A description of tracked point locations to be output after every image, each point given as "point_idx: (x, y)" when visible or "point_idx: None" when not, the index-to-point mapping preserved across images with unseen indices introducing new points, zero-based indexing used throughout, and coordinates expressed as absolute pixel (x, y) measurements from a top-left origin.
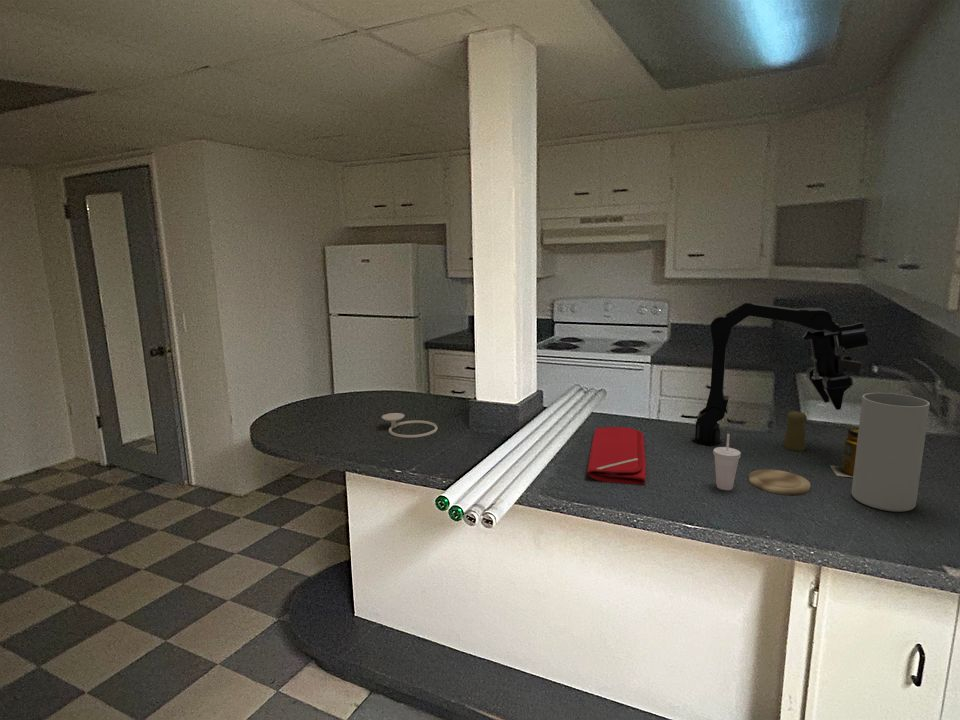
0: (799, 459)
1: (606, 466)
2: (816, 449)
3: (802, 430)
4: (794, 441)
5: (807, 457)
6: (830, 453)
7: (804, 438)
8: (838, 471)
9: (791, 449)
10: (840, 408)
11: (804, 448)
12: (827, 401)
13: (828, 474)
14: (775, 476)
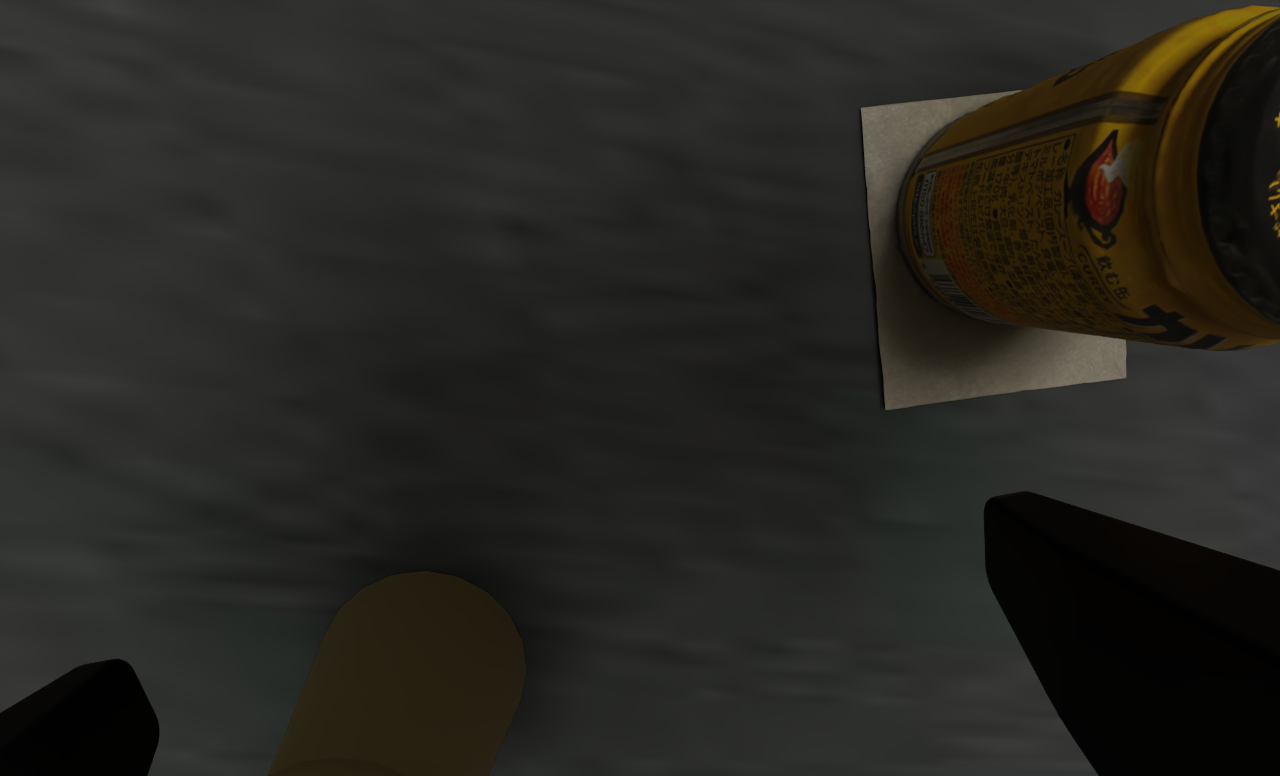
0: (777, 639)
1: None
2: (401, 472)
3: (435, 726)
4: (504, 724)
5: (693, 570)
6: (481, 355)
7: (425, 641)
8: (1004, 352)
9: (519, 696)
10: (1037, 503)
11: (465, 588)
12: (123, 694)
13: (1095, 440)
14: None
